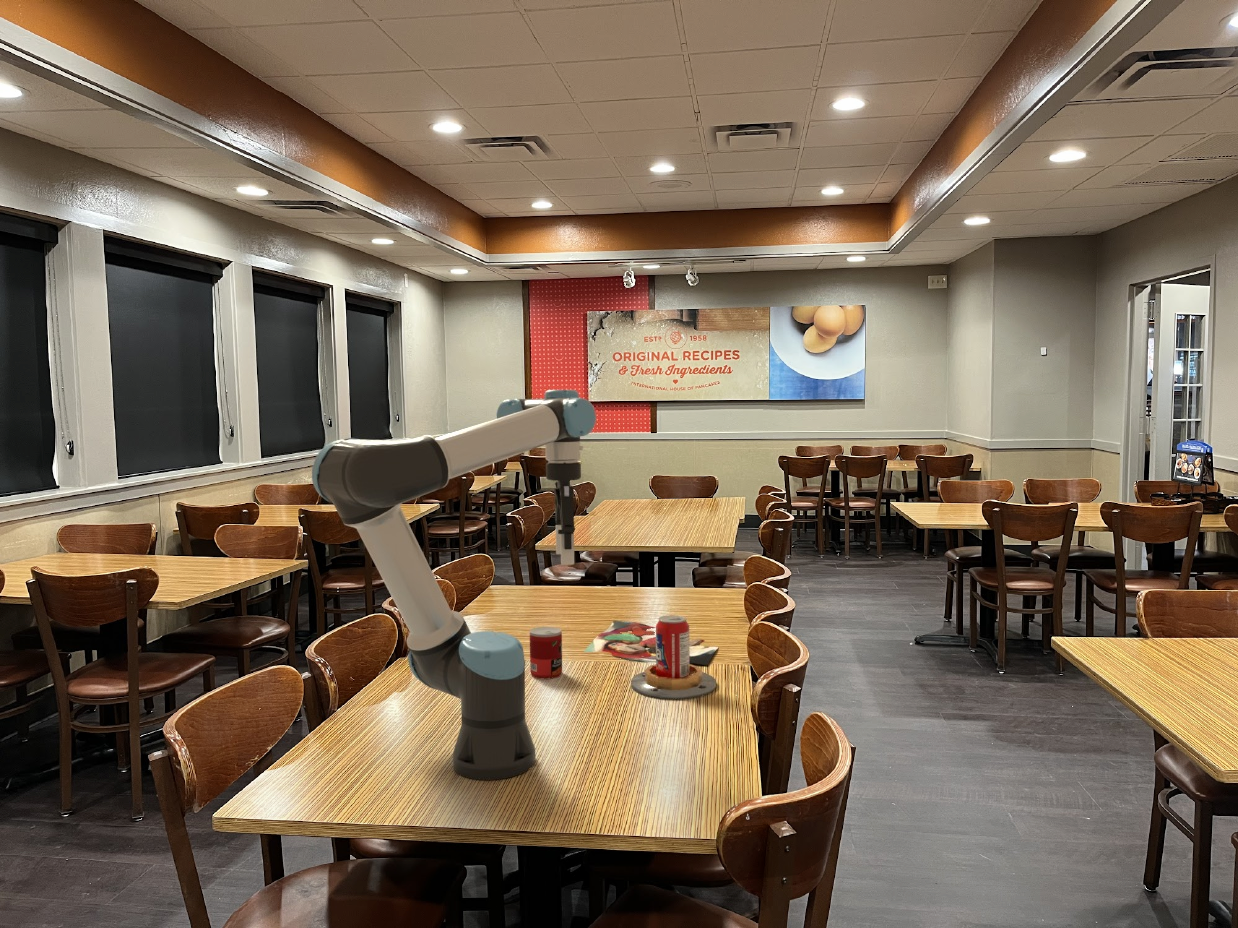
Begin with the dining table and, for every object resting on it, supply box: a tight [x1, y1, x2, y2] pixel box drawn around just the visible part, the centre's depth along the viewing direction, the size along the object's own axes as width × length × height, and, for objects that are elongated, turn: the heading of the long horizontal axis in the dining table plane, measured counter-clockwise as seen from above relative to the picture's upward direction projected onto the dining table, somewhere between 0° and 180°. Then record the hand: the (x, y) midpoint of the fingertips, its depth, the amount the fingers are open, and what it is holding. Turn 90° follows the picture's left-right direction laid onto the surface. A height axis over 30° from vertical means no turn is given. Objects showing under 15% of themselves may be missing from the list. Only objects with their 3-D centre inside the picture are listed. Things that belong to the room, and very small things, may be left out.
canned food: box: [529, 626, 563, 680], centre depth 212 cm, size 8×8×11 cm
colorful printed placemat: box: [583, 620, 719, 666], centre depth 238 cm, size 35×35×2 cm
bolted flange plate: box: [630, 663, 717, 700], centre depth 203 cm, size 20×20×4 cm
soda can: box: [655, 614, 691, 678], centre depth 202 cm, size 8×8×15 cm
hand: (564, 559), depth 187 cm, fingers open, 13 cm apart
